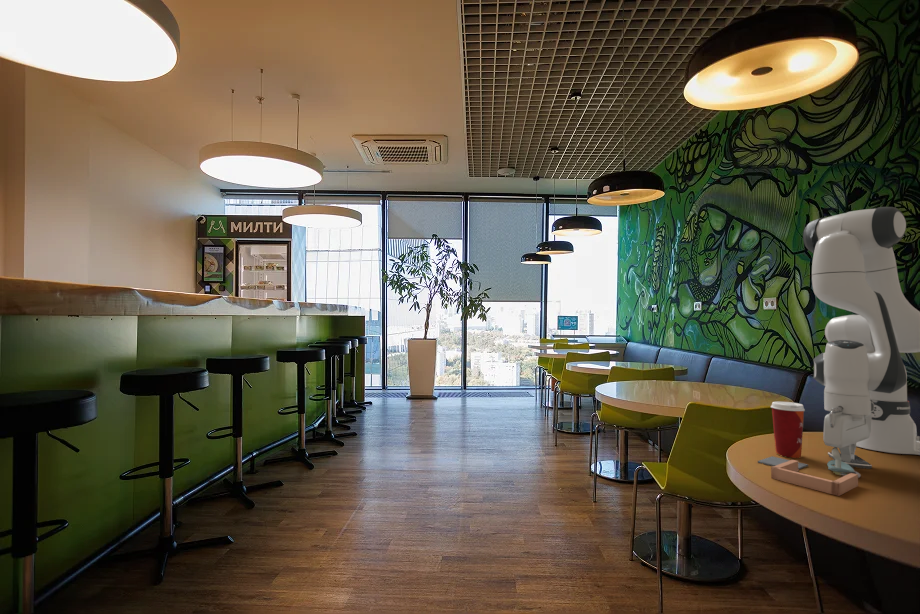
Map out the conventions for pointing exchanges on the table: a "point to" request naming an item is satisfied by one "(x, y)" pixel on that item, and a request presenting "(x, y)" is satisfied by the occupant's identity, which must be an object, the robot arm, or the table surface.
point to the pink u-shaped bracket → (813, 479)
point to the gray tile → (779, 462)
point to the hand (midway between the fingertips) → (847, 460)
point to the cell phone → (855, 462)
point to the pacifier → (840, 465)
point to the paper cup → (788, 428)
